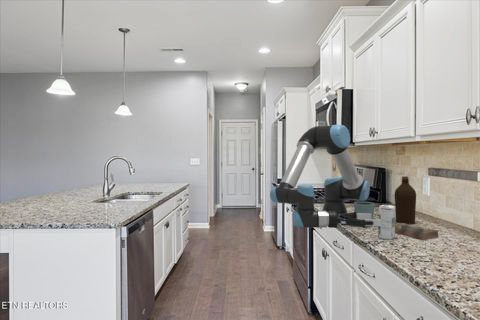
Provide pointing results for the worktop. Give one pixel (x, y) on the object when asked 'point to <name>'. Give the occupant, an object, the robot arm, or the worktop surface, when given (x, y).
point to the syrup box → (387, 222)
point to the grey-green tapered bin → (364, 208)
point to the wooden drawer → (415, 231)
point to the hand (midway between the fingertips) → (375, 219)
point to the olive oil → (405, 202)
